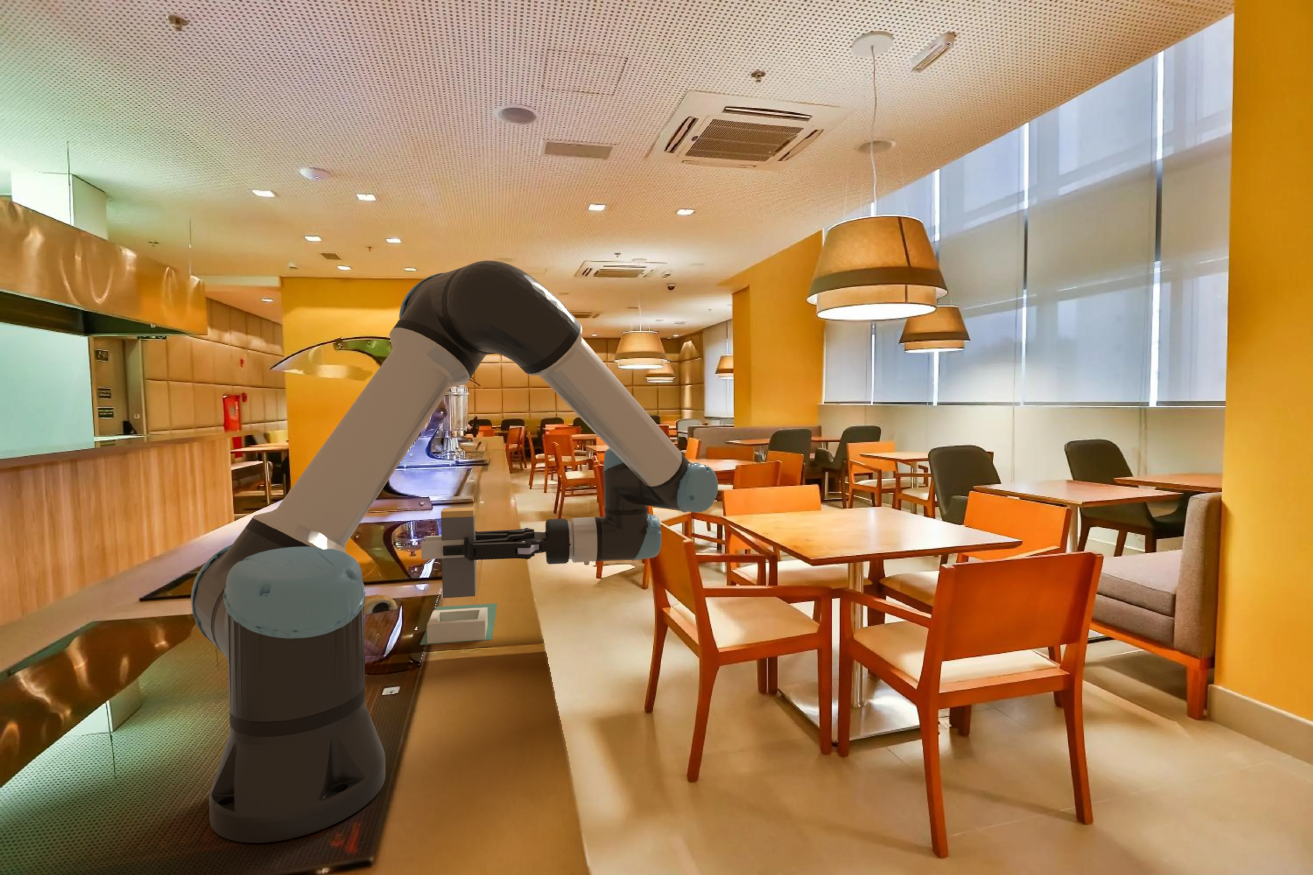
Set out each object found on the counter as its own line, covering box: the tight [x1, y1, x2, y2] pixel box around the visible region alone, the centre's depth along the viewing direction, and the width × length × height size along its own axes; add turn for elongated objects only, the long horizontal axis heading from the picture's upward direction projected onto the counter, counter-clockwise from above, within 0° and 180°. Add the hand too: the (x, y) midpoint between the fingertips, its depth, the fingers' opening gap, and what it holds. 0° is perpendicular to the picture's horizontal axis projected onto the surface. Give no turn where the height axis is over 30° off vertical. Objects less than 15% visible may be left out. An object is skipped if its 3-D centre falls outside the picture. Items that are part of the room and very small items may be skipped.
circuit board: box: [419, 602, 498, 653], centre depth 112 cm, size 20×11×1 cm, turn 12°
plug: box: [440, 506, 478, 599], centre depth 106 cm, size 4×5×14 cm
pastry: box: [364, 593, 398, 616], centre depth 121 cm, size 9×7×4 cm
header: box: [426, 607, 488, 645], centre depth 106 cm, size 7×9×3 cm
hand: (423, 547), depth 104 cm, fingers closed on plug, 4 cm apart
